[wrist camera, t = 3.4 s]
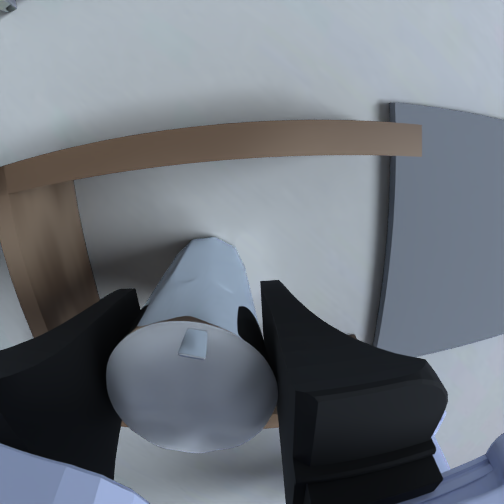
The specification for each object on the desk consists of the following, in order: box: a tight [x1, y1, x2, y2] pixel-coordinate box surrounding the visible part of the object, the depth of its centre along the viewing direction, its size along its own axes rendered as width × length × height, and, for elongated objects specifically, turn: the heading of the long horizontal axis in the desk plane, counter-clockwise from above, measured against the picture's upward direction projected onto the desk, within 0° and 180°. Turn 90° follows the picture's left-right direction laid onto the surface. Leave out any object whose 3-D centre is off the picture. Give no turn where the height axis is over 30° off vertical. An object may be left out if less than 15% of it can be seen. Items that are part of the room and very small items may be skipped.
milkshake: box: [106, 237, 278, 453], centre depth 10 cm, size 5×5×10 cm
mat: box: [373, 103, 504, 357], centre depth 15 cm, size 14×14×1 cm
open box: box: [0, 120, 422, 429], centre depth 13 cm, size 12×14×5 cm
